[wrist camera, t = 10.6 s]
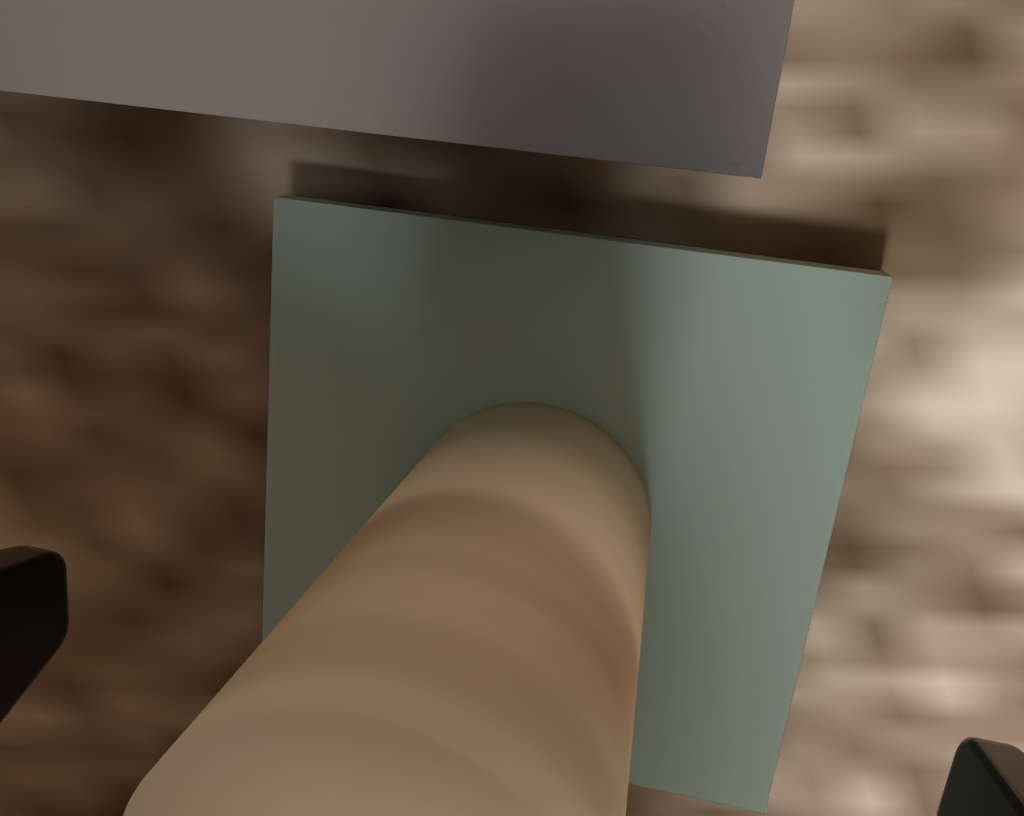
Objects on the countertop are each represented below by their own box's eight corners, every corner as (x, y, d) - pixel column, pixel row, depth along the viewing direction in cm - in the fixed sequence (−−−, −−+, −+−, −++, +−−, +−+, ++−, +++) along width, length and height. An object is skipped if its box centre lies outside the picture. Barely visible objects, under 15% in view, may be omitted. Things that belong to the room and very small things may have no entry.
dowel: (631, 645, 13) (573, 1191, 6) (405, 601, 13) (119, 1057, 6) (669, 423, 12) (649, 781, 5) (423, 384, 12) (106, 659, 5)
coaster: (761, 786, 13) (764, 813, 13) (276, 680, 15) (260, 701, 14) (881, 271, 11) (891, 277, 11) (293, 195, 12) (273, 197, 12)
